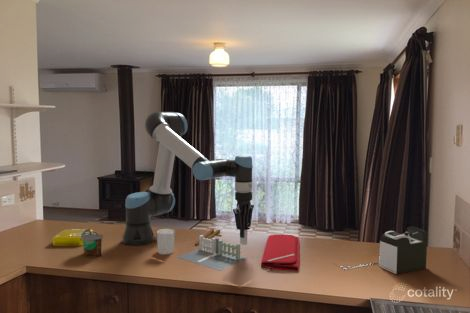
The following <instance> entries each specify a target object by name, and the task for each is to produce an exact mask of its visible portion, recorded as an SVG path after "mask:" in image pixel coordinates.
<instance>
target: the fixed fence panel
mask: <svg viewBox="0 0 470 313" xmlns="http://www.w3.org/2000/svg"><path fill="white" fill-rule="evenodd" d="M198 241H199V245H198V249H200V250H203V249H204V250H206V251H209V252H211V253H215V252H216V238H215V237H213V238H212V239H207V238H204V235H203V234H201V235H199V238H198Z"/></svg>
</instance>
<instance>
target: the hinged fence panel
mask: <svg viewBox="0 0 470 313" xmlns="http://www.w3.org/2000/svg"><path fill="white" fill-rule="evenodd" d="M215 239H216V253H218V254H223V253H224V254H226V253H227V254H228V255H230V254H231V255H232V256H233V257H234V256H236V259H240V256H241V244H240V243H236V244H235V243H232V244H231V242H228V243H227V242H226V241H223V239H220V238H219V237H217V238H215Z"/></svg>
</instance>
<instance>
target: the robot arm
mask: <svg viewBox="0 0 470 313" xmlns="http://www.w3.org/2000/svg"><path fill="white" fill-rule="evenodd" d="M144 128H145V131H146V133H147V134H148V135H149V137H151V138H152V139H153V140H154V141H155V142H159V145H158V152H157V156H156V166H155V171H154V172H155V173H154V177H153V183H152V185H151V186H150V187H149V189H148V192H147V191H139V192H134V193H133V192H132V193H130V194H128V195H127V196H126V198H125V204H124V207H125V228H124V232H123V235H122V243H123V244H125V245H130V246H140V245H142V246H143V245H146V244H150V243H152V242H154V240H155V234H154V231H153V229H152V225H151V218H152V217H154V216H160V215H164V214H167V213H169V212H171V211H172V210H173V209H174V207H175V205H176V198H175V194H174V193H173V190H172V188H171V183H172V182H171V181H172V177H173V176H172V175H173V169H174V163H175V157H177V158H178V159H180V160H181V161H182V162H183V163H184V164H185V165H187V166H188V167H189V168H190V169H192V175H193V176H194V178H195V179H196V180H198V181H207V180H210V179H211V180H212V179H217V178H223V177H232V178H234V199H235V201H236V207H235V208H233V209H232V212H233V214H234V220H235V221H234V222H235V227H236V230H239V240H240V241H239V242H240V243H239V244H240V245H244V246H247V245H248V230H250V229H251V224H252V219H253V212H254V211H253V210H254V207H255V205H254V204H251V202H252V200H253V168H254V167H253V158H252V156H251V155H236V156H235V157H234V159H229V158H228V159H225V158H215V159H214V160H209V159H208V158H207V157H205V156H204V155H203V154H202V153H201V152H199V151H198V150H197V149H196V148H194V147H193V146H192V145H190V144H189V143H188V142H187V141H186V140H185V139H183V138H182V136H184V135H185V134H186V133H187V131H188V121H187V118H185V116H184V114H182V113H180V112H175V111H154V112H151V113H150V114H148V116H147V117H146V119H145V122H144Z"/></svg>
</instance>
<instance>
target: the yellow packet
mask: <svg viewBox="0 0 470 313" xmlns="http://www.w3.org/2000/svg"><path fill="white" fill-rule="evenodd" d="M87 229H88V228H81V229H80V228H74V229H73V228H71V229H70V228H68V229H67V228H66V229H65V228H64V229H63V230H61V231H60V232H59V233H57V234H56V235H53V237H52V246H54V247H81V246H83V239H82V238H81V234H82V232H83V231H84V230H87ZM89 229H90V231H91V232H94V229H92V228H89Z"/></svg>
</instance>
